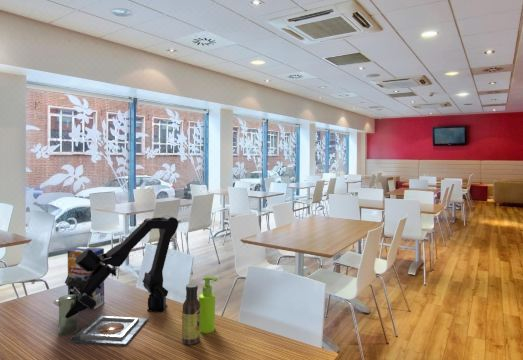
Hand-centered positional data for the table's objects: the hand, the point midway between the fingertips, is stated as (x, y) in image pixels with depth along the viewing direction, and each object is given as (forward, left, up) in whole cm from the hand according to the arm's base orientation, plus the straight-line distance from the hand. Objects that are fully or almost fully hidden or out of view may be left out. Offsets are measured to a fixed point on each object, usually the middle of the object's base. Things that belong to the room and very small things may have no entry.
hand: (64, 314), depth 135 cm
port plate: (-16, -3, -7) cm, 18 cm away
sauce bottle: (-47, +1, -7) cm, 48 cm away
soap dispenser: (-51, -8, -7) cm, 52 cm away
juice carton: (+5, -24, -7) cm, 25 cm away
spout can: (-1, -1, -7) cm, 7 cm away
